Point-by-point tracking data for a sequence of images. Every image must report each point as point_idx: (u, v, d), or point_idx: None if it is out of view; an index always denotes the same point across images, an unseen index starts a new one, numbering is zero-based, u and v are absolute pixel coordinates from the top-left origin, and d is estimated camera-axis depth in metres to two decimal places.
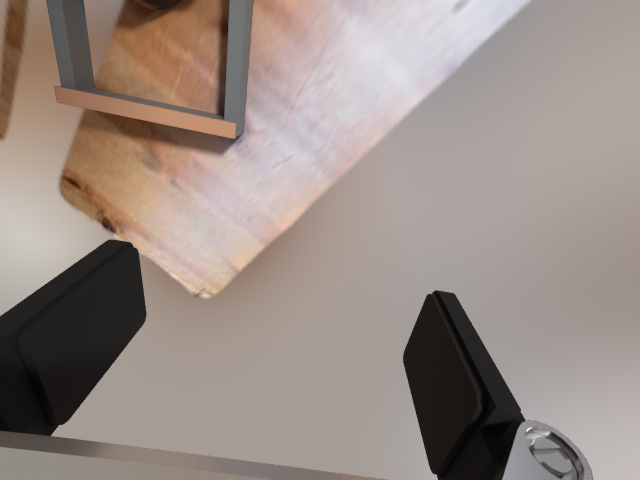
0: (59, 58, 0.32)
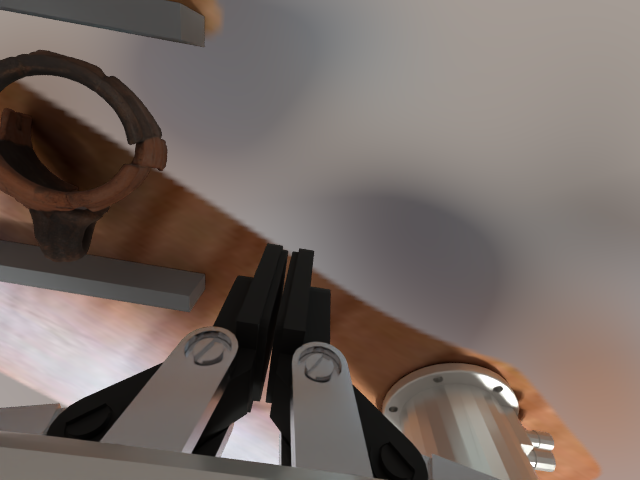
0: None
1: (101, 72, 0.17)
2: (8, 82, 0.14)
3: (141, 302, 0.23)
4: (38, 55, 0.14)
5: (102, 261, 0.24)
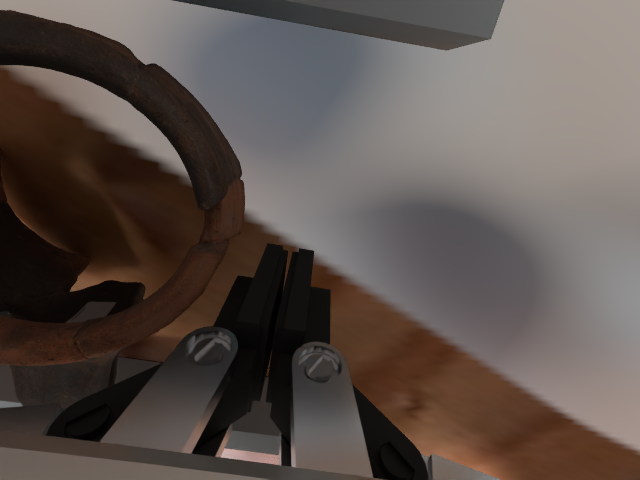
0: None
1: (132, 56, 0.08)
2: None
3: (269, 451, 0.15)
4: None
5: None
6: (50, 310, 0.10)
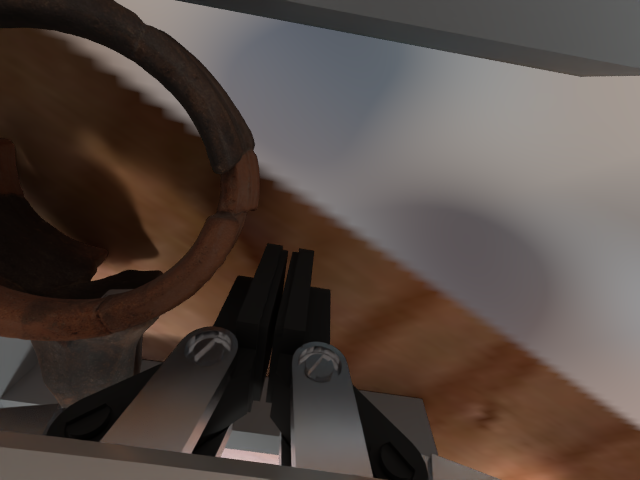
0: None
1: None
2: None
3: None
4: None
5: None
6: (72, 297, 0.10)
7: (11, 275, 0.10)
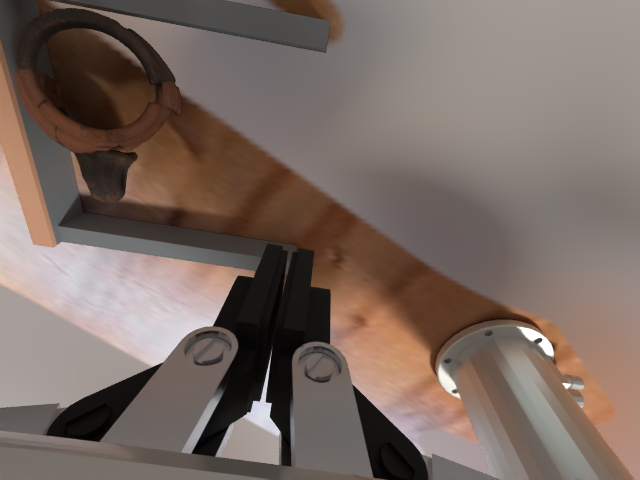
0: None
1: None
2: (48, 35, 0.17)
3: (252, 268, 0.27)
4: (69, 9, 0.17)
5: (211, 235, 0.29)
6: None
7: None
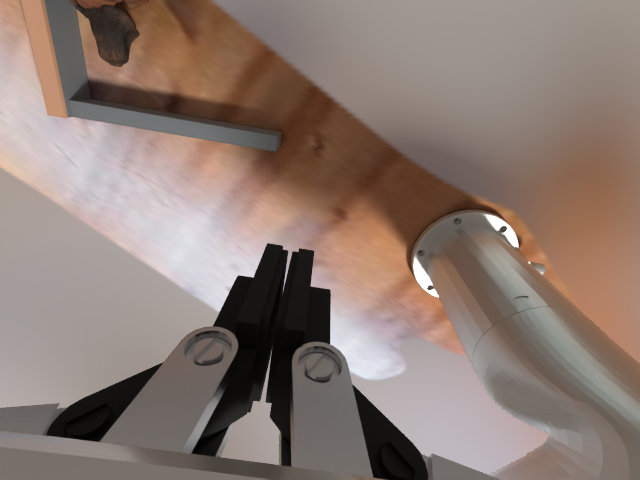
0: None
1: None
2: None
3: (240, 143, 0.31)
4: None
5: (205, 119, 0.32)
6: None
7: None
